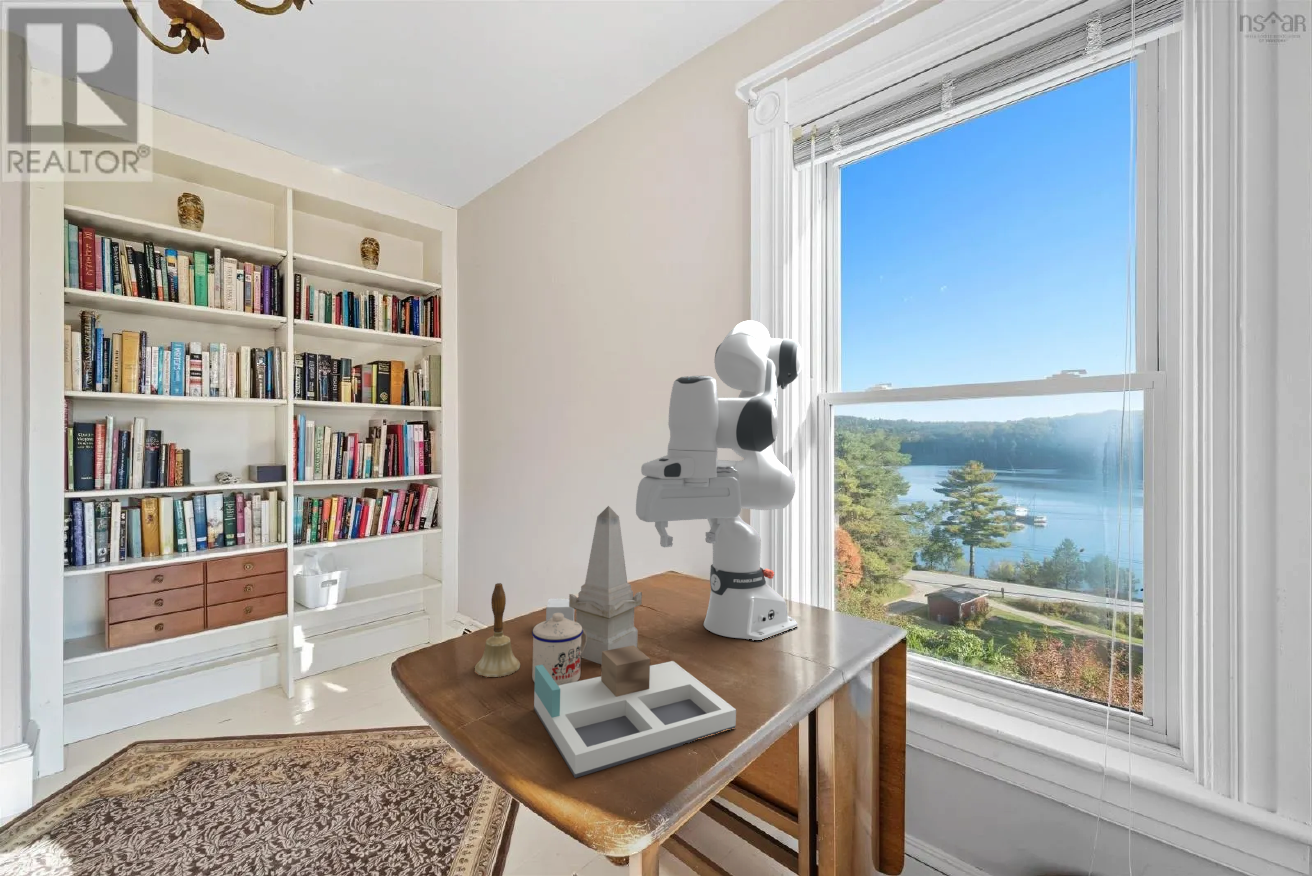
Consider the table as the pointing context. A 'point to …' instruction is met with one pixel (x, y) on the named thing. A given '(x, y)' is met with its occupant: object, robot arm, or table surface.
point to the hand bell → (497, 643)
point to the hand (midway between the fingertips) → (689, 544)
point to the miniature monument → (606, 593)
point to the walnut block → (625, 670)
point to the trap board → (627, 717)
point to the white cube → (559, 608)
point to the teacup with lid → (559, 648)
